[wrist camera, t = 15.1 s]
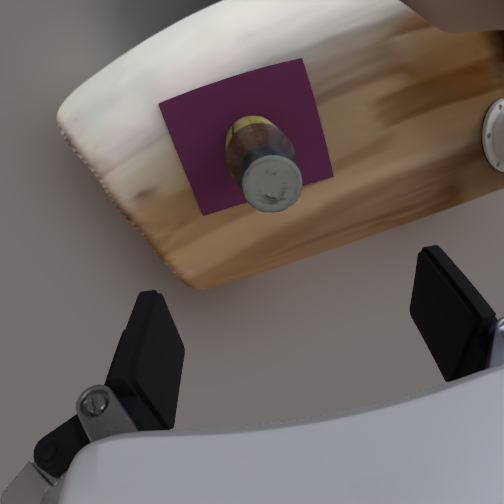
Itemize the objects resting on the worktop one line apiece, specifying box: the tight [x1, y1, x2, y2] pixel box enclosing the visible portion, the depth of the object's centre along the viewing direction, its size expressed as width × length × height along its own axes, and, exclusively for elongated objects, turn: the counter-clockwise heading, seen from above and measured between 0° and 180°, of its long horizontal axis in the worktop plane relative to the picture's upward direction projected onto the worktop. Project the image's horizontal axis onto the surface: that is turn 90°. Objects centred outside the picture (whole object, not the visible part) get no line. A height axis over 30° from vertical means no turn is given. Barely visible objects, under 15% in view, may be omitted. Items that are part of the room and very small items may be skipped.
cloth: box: [159, 58, 334, 216], centre depth 38 cm, size 18×16×1 cm
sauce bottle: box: [226, 116, 303, 212], centre depth 29 cm, size 6×6×20 cm
